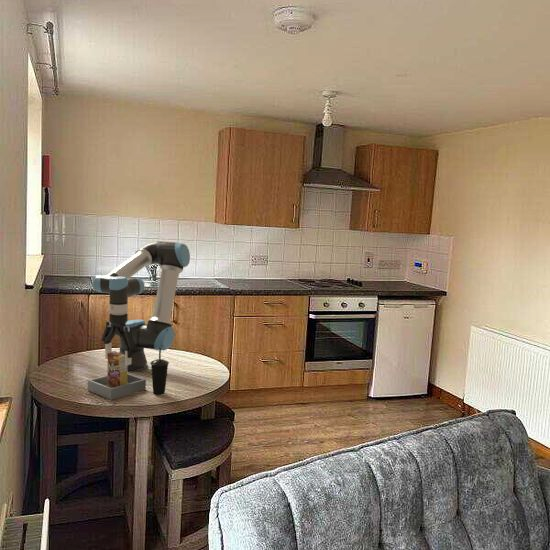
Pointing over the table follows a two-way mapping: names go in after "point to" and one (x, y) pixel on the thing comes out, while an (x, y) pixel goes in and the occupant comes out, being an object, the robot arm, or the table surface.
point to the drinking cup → (159, 374)
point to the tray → (102, 389)
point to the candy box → (116, 369)
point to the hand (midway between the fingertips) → (118, 361)
